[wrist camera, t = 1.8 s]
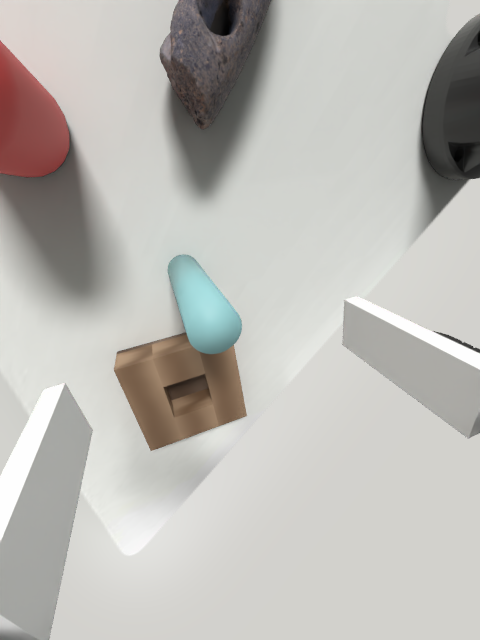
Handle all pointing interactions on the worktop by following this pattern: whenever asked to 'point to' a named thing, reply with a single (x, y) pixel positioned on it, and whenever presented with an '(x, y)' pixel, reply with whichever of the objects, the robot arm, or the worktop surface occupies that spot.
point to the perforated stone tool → (209, 51)
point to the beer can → (28, 122)
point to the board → (179, 389)
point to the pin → (203, 307)
